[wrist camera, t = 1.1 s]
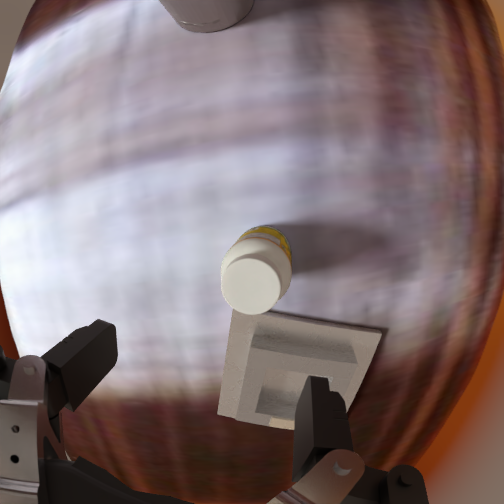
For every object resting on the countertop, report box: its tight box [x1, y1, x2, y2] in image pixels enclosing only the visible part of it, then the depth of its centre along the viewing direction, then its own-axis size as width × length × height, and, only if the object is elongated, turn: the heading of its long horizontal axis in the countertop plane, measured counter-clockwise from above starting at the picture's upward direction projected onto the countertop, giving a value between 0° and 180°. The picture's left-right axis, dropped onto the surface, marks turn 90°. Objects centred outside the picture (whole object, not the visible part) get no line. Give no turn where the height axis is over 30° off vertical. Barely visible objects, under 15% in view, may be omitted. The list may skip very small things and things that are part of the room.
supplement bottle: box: [221, 226, 292, 315], centre depth 23 cm, size 5×5×10 cm
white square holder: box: [217, 308, 382, 430], centre depth 29 cm, size 16×16×4 cm
